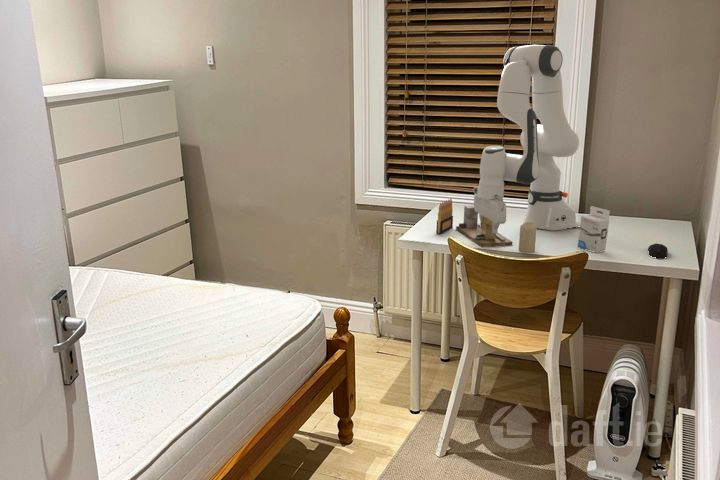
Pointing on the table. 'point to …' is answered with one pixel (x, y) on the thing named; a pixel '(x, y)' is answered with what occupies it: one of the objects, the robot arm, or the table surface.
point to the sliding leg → (486, 229)
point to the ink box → (594, 230)
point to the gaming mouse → (658, 251)
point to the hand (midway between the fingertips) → (488, 229)
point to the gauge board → (478, 230)
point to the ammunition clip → (445, 217)
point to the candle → (527, 237)
